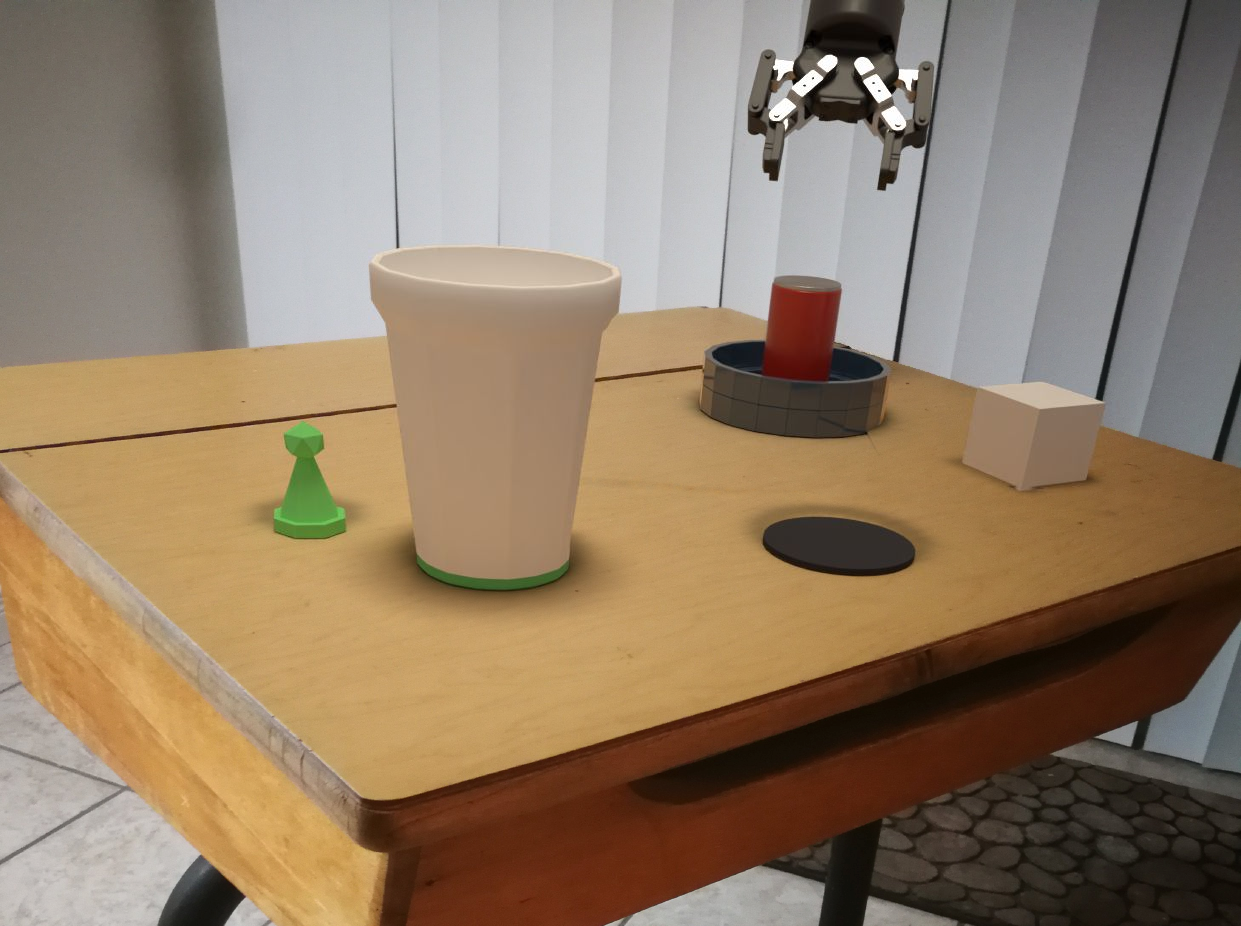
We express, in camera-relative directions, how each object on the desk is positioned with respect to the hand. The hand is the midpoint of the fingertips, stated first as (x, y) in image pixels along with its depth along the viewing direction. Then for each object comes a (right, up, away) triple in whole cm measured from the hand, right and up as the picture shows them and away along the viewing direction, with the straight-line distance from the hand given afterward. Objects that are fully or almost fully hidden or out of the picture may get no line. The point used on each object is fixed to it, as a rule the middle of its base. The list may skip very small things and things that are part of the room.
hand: (827, 178), depth 102 cm
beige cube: (+12, -27, -11) cm, 31 cm away
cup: (-24, -37, -30) cm, 53 cm away
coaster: (-4, -35, -24) cm, 43 cm away
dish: (-3, -19, 0) cm, 19 cm away
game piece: (-35, -34, -26) cm, 55 cm away
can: (-3, -18, 0) cm, 19 cm away
